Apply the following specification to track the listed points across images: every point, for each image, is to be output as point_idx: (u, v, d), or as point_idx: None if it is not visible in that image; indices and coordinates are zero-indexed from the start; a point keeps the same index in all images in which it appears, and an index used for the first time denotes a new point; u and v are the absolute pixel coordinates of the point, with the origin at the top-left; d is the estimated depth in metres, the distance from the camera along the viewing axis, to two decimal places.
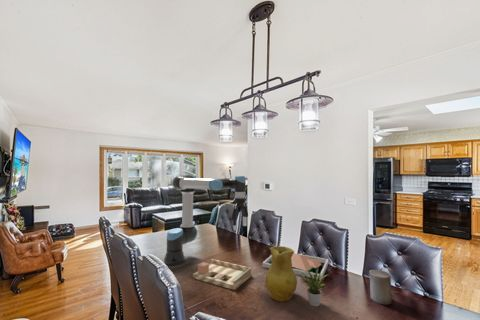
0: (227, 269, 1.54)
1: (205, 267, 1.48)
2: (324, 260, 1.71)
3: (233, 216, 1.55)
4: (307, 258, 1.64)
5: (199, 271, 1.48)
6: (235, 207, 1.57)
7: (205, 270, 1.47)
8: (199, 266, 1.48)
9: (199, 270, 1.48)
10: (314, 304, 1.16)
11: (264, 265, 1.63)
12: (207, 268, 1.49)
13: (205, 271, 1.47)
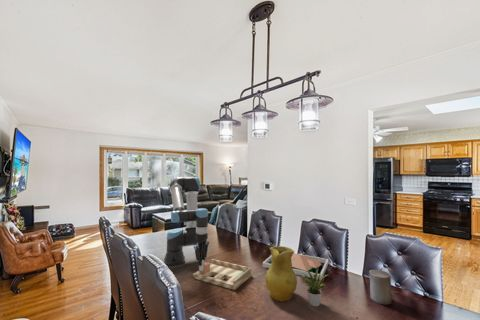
0: (227, 269, 1.54)
1: (206, 266, 1.48)
2: (324, 260, 1.71)
3: (197, 257, 1.45)
4: (307, 258, 1.64)
5: None
6: (195, 248, 1.43)
7: (206, 269, 1.48)
8: None
9: None
10: (314, 304, 1.16)
11: (264, 265, 1.63)
12: (208, 267, 1.50)
13: (206, 270, 1.48)
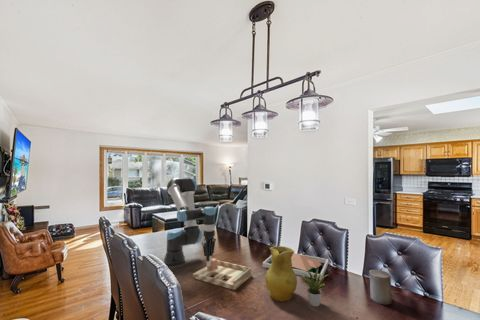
0: (227, 269, 1.54)
1: (214, 262, 1.55)
2: (324, 260, 1.71)
3: (205, 253, 1.52)
4: (307, 258, 1.64)
5: (208, 266, 1.56)
6: (203, 245, 1.50)
7: (214, 265, 1.55)
8: None
9: None
10: (314, 304, 1.16)
11: (264, 265, 1.63)
12: (215, 263, 1.57)
13: (214, 266, 1.55)
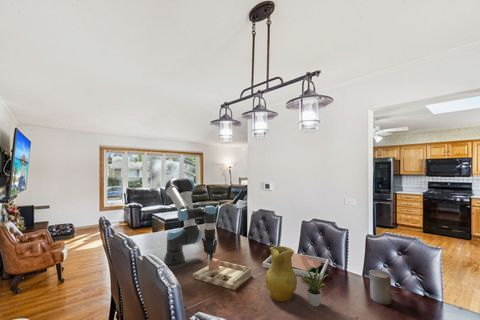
0: (227, 269, 1.54)
1: (215, 263, 1.55)
2: (324, 260, 1.71)
3: None
4: (307, 258, 1.64)
5: (210, 267, 1.55)
6: None
7: (215, 266, 1.54)
8: (210, 262, 1.55)
9: (210, 266, 1.55)
10: (314, 304, 1.16)
11: (264, 265, 1.63)
12: (217, 264, 1.56)
13: (215, 267, 1.54)
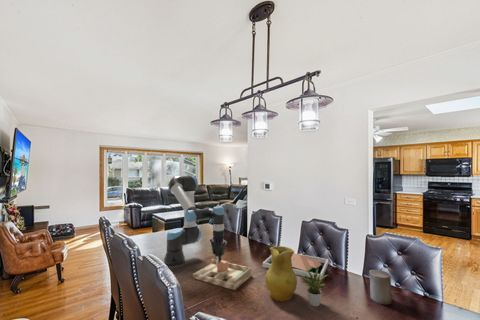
0: (227, 269, 1.54)
1: (224, 265, 1.51)
2: (324, 260, 1.71)
3: None
4: (307, 258, 1.64)
5: (218, 269, 1.52)
6: None
7: (224, 268, 1.51)
8: (218, 264, 1.52)
9: (218, 268, 1.52)
10: (314, 304, 1.16)
11: (264, 265, 1.63)
12: (226, 266, 1.53)
13: (224, 269, 1.51)
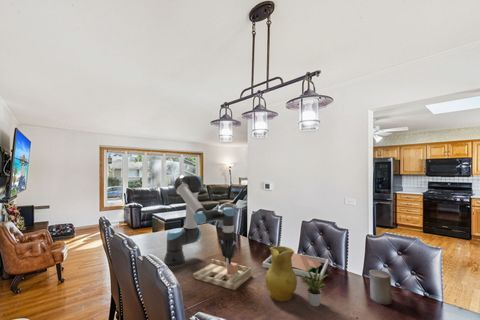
0: None
1: (234, 267, 1.47)
2: (324, 260, 1.71)
3: None
4: (307, 258, 1.64)
5: (228, 271, 1.48)
6: None
7: (234, 270, 1.47)
8: (228, 266, 1.48)
9: (228, 270, 1.48)
10: (314, 304, 1.16)
11: (264, 265, 1.63)
12: (236, 268, 1.49)
13: (234, 271, 1.47)
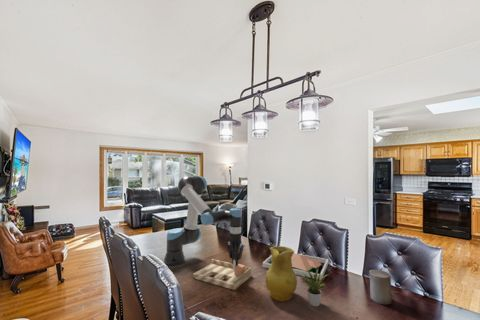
0: (227, 269, 1.54)
1: (242, 269, 1.45)
2: (324, 260, 1.71)
3: None
4: (307, 258, 1.64)
5: (236, 273, 1.45)
6: None
7: (242, 272, 1.45)
8: (236, 268, 1.46)
9: (236, 272, 1.45)
10: (314, 304, 1.16)
11: (264, 265, 1.63)
12: (243, 270, 1.47)
13: (242, 273, 1.45)
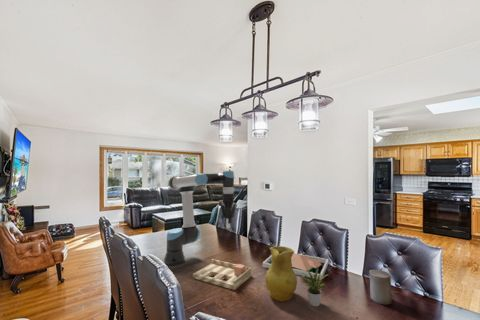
0: (227, 269, 1.54)
1: (242, 269, 1.45)
2: (324, 260, 1.71)
3: None
4: (307, 258, 1.64)
5: (236, 273, 1.45)
6: None
7: (242, 272, 1.45)
8: (236, 268, 1.46)
9: (236, 272, 1.45)
10: (314, 304, 1.16)
11: (264, 265, 1.63)
12: (243, 270, 1.47)
13: (242, 273, 1.45)
